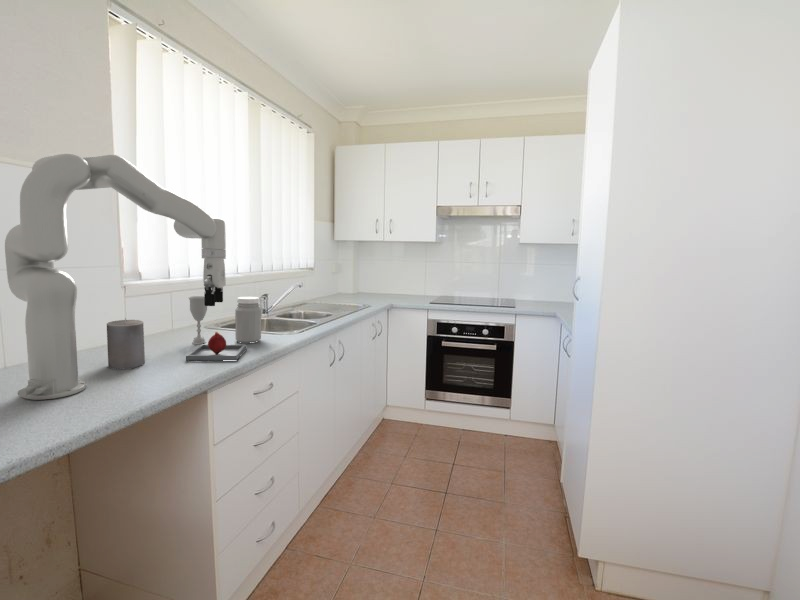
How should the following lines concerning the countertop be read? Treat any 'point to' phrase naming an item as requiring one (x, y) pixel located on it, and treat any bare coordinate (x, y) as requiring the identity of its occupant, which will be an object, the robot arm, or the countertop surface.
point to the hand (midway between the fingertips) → (214, 303)
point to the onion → (217, 343)
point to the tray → (207, 355)
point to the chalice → (198, 315)
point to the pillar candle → (125, 344)
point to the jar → (248, 320)
